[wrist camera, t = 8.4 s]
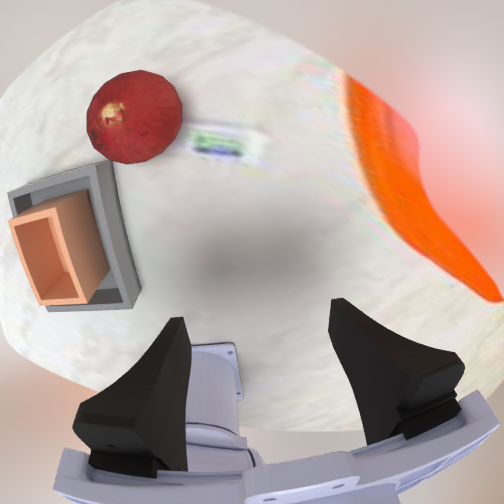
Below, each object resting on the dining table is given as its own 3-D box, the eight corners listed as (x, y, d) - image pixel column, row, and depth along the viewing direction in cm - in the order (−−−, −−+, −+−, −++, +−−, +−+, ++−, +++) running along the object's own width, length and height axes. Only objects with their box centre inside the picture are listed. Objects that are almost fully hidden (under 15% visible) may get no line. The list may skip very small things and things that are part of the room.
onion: (131, 170, 19) (82, 196, 12) (102, 106, 16) (42, 100, 9) (201, 135, 18) (186, 138, 11) (171, 68, 16) (140, 34, 9)
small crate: (109, 269, 21) (87, 303, 17) (65, 274, 21) (39, 305, 17) (88, 188, 18) (55, 207, 14) (43, 200, 18) (8, 220, 14)
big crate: (141, 288, 23) (132, 308, 20) (61, 294, 23) (48, 311, 20) (111, 159, 18) (95, 165, 15) (27, 184, 18) (7, 192, 15)
